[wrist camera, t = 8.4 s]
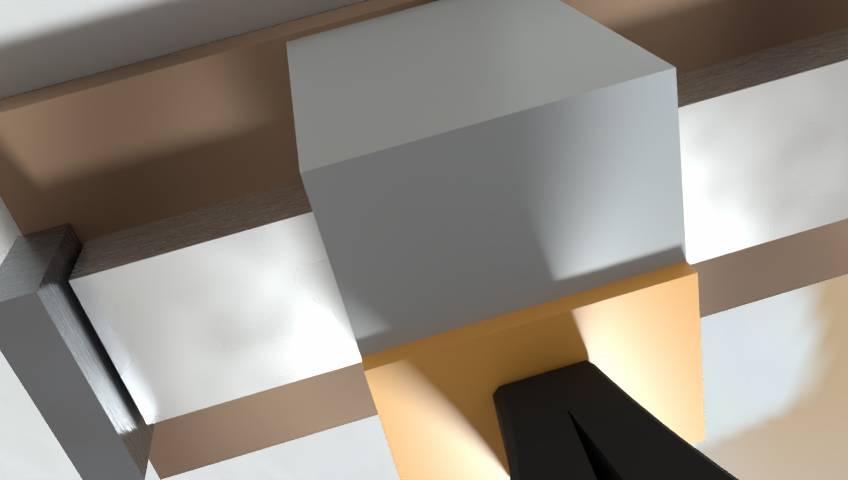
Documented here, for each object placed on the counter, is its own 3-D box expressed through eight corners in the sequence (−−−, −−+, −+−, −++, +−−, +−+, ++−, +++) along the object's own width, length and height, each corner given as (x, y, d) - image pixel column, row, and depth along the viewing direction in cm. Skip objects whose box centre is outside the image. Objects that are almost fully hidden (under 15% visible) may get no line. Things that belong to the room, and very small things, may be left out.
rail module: (521, -23, 14) (689, 74, 8) (575, 335, 18) (710, 555, 13) (285, 41, 14) (300, 183, 8) (395, 388, 18) (453, 637, 12)
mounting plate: (883, -139, 15) (920, -137, 14) (854, 244, 20) (881, 263, 19) (-22, 105, 14) (-40, 123, 13) (165, 449, 19) (160, 479, 18)
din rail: (913, -14, 15) (1019, 12, 13) (893, 179, 18) (982, 229, 15) (18, 237, 14) (-26, 309, 12) (114, 408, 17) (92, 494, 14)
